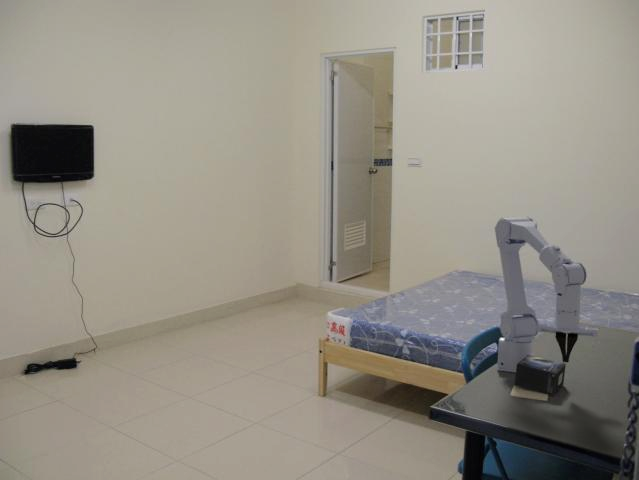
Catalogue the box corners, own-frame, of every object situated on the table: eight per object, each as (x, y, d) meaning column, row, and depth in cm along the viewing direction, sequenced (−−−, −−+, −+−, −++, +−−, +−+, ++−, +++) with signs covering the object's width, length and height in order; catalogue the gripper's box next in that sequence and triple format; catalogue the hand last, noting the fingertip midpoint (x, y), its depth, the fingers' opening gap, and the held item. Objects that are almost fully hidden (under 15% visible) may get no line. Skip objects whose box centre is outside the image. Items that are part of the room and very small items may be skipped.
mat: (510, 396, 165) (510, 394, 165) (516, 379, 178) (516, 378, 178) (547, 400, 161) (547, 399, 161) (551, 383, 174) (551, 382, 174)
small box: (557, 372, 163) (515, 363, 168) (554, 396, 164) (513, 386, 169) (566, 362, 172) (526, 353, 177) (563, 385, 173) (524, 376, 178)
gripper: (536, 310, 164) (535, 362, 165) (598, 315, 158) (596, 369, 160) (539, 305, 170) (537, 354, 172) (598, 309, 165) (596, 360, 166)
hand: (565, 361), depth 166 cm, fingers closed
